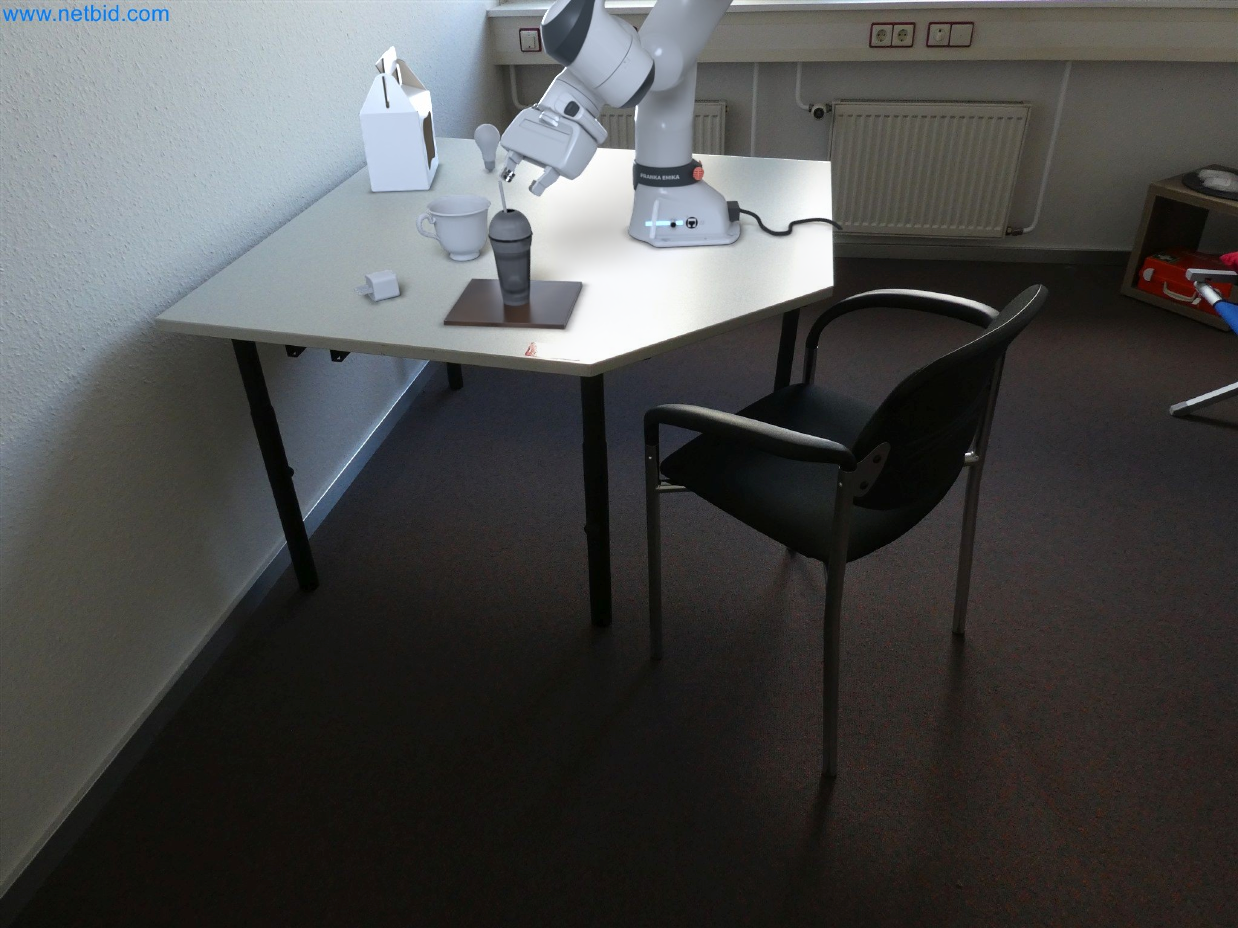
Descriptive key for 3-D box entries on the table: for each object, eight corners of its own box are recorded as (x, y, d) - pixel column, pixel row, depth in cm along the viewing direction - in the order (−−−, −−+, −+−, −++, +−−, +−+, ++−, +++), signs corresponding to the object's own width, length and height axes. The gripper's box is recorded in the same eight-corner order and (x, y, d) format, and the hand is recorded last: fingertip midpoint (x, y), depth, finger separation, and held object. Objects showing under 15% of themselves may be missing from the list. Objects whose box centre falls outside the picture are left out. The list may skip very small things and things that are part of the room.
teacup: (408, 258, 173) (400, 206, 168) (476, 240, 181) (470, 190, 175) (438, 276, 165) (430, 222, 160) (507, 256, 173) (503, 205, 167)
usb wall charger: (400, 297, 158) (396, 275, 155) (361, 306, 155) (357, 284, 152) (391, 289, 160) (388, 268, 158) (354, 298, 157) (349, 277, 155)
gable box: (386, 166, 227) (366, 45, 212) (439, 164, 228) (423, 43, 212) (371, 192, 209) (349, 62, 193) (429, 190, 209) (411, 60, 194)
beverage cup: (520, 312, 149) (510, 191, 138) (486, 303, 152) (473, 185, 141) (546, 297, 154) (538, 179, 143) (512, 288, 157) (501, 173, 146)
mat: (582, 285, 160) (582, 281, 160) (564, 329, 145) (564, 324, 145) (472, 282, 162) (471, 278, 162) (444, 325, 148) (443, 320, 147)
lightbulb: (501, 174, 219) (497, 127, 213) (476, 174, 219) (471, 127, 213) (504, 167, 224) (500, 121, 218) (479, 167, 224) (475, 121, 218)
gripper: (520, 90, 149) (474, 161, 150) (589, 112, 135) (537, 190, 136) (545, 114, 153) (500, 183, 154) (614, 138, 139) (564, 213, 140)
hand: (518, 186), depth 145 cm, fingers open, 8 cm apart
